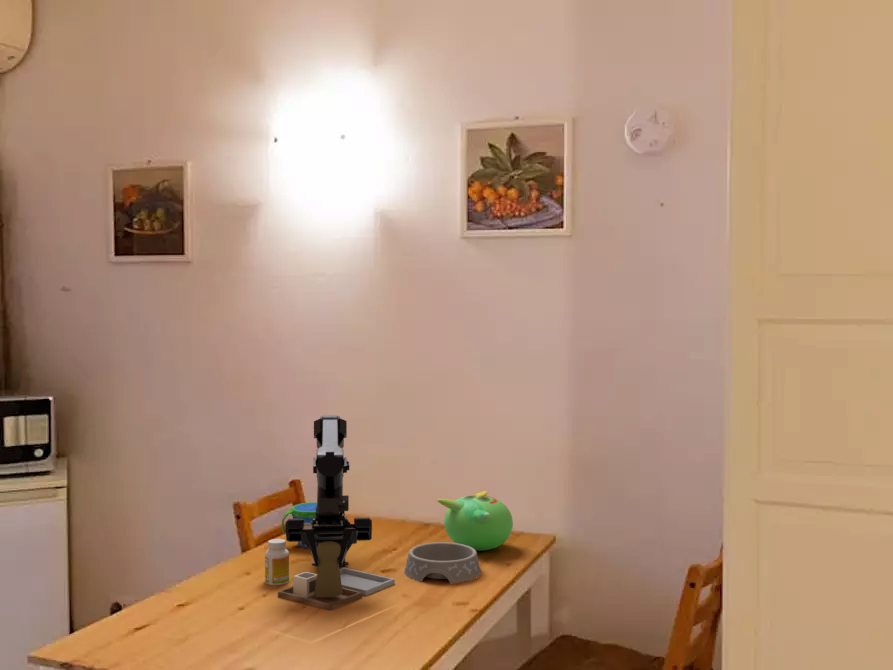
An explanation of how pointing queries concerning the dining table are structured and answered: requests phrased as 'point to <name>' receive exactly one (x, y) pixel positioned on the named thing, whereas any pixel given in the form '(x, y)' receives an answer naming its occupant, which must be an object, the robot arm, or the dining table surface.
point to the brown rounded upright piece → (328, 570)
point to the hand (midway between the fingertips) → (328, 564)
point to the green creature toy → (477, 521)
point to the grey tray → (364, 581)
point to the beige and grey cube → (304, 584)
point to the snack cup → (302, 514)
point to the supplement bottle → (277, 562)
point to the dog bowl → (442, 562)
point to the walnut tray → (322, 598)
